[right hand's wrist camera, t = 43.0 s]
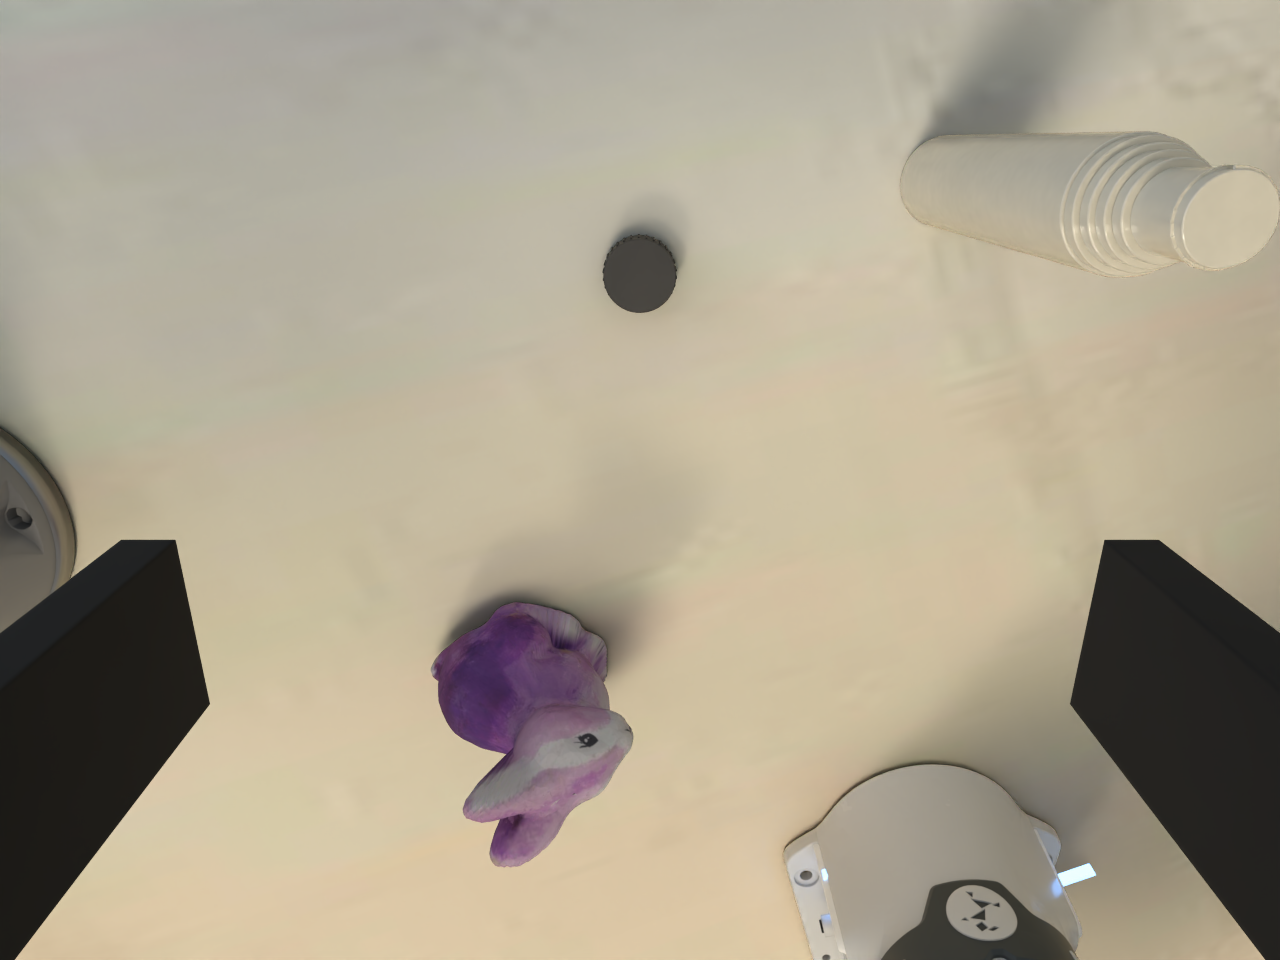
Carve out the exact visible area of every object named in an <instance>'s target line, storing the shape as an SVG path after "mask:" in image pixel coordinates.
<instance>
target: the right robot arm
mask: <svg viewBox="0 0 1280 960" xmlns="http://www.w3.org/2000/svg"><path fill="white" fill-rule="evenodd" d="M74 556H75V541H74V532H73V527H72V522H71V518H70V515H69V512H68V509H67V507H66V504H65V502H64V499H63V497H62V495H61V493H60V492H59V490H58V488H57V486H56V485H55V483H54V481H53V480H52V478H51V477H50V475H49V474H48V473H47V471H46V470H45V469H44V467H43V466H42V465H41V464H40V463H39V461H38V460H37V459H36V458H35V457H34V456H33V455H32V454H31V453H30V452H29V451H28V450H27V449H26V448H25V447H24V446H23V445H22V444H21V443H19V442H18V441H17V440H16V439H15V438H13V437H12V436H11V435H9V434H8V433H7V432H5V431H4V430H2V429H1V428H0V960H15V959H16V957H17V956H18V955H19V953H20V952H21V951H22V949H23V948H24V947H25V946H26V944H27V943H28V942H29V940H30V939H31V938H32V936H33V935H34V934H35V932H36V931H37V930H38V928H39V927H40V926H41V925H42V923H43V922H44V921H45V919H46V918H47V917H48V915H49V914H50V913H51V911H52V910H53V909H54V908H55V906H56V905H57V904H58V902H59V901H60V900H61V898H62V897H63V896H64V894H65V893H66V892H67V891H68V889H69V888H70V887H71V885H72V884H73V883H74V881H75V880H76V879H77V877H78V876H79V875H80V873H81V872H82V871H83V870H84V868H85V867H86V866H87V864H88V863H89V862H90V860H91V859H92V858H93V856H94V855H95V854H96V853H97V851H98V850H99V849H100V847H101V846H102V845H103V843H104V842H105V841H106V839H107V838H108V837H109V836H110V834H111V833H112V832H113V830H114V829H115V828H116V826H117V825H118V824H119V822H120V821H121V820H122V818H123V817H124V816H125V815H126V813H127V812H128V811H129V809H130V808H131V807H132V805H133V804H134V803H135V801H136V800H137V799H138V798H139V796H140V795H141V794H142V792H143V791H144V790H145V788H146V787H147V786H148V784H149V783H150V782H151V781H152V779H153V778H154V777H155V775H156V774H157V773H158V771H159V770H160V769H161V767H162V766H163V765H164V763H165V762H166V761H167V760H168V758H169V757H170V756H171V754H172V753H173V752H174V750H175V749H176V748H177V746H178V745H179V744H180V743H181V741H182V740H183V739H184V737H185V736H186V735H187V733H188V732H189V731H190V729H191V728H192V727H193V726H194V724H195V723H196V722H197V720H198V719H199V718H200V716H201V715H202V714H203V712H204V711H205V710H206V708H207V707H208V706H209V705H210V702H209V697H208V693H207V688H206V683H205V678H204V674H203V669H202V664H201V659H200V654H199V650H198V645H197V640H196V635H195V631H194V626H193V621H192V616H191V612H190V607H189V602H188V597H187V593H186V588H185V583H184V578H183V574H182V569H181V564H180V559H179V555H178V550H177V545H176V540H120V541H119V542H118V543H117V544H115V545H114V546H113V547H111V548H110V549H109V550H107V551H106V552H105V553H104V554H102V555H101V556H100V557H98V558H97V559H96V560H94V561H93V562H92V563H91V564H89V565H88V566H87V567H85V568H84V569H83V570H81V571H80V572H79V573H78V574H76V575H75V576H74V577H72V578H71V579H70V580H69V578H70V576H71V572H72V568H73V563H74ZM1070 705H1071V706H1072V707H1073V709H1074V710H1075V711H1076V712H1077V714H1078V715H1079V716H1080V718H1081V719H1082V720H1083V722H1084V723H1085V724H1086V726H1087V727H1088V728H1089V729H1090V731H1091V732H1092V733H1093V735H1094V736H1095V737H1096V739H1097V740H1098V741H1099V743H1100V744H1101V745H1102V746H1103V748H1104V749H1105V750H1106V752H1107V753H1108V754H1109V756H1110V757H1111V758H1112V760H1113V761H1114V762H1115V763H1116V765H1117V766H1118V767H1119V769H1120V770H1121V771H1122V773H1123V774H1124V775H1125V777H1126V778H1127V779H1128V781H1129V782H1130V783H1131V784H1132V786H1133V787H1134V788H1135V790H1136V791H1137V792H1138V794H1139V795H1140V796H1141V798H1142V799H1143V800H1144V801H1145V803H1146V804H1147V805H1148V807H1149V808H1150V809H1151V811H1152V812H1153V813H1154V815H1155V816H1156V817H1157V818H1158V820H1159V821H1160V822H1161V824H1162V825H1163V826H1164V828H1165V829H1166V830H1167V832H1168V833H1169V834H1170V836H1171V837H1172V838H1173V839H1174V841H1175V842H1176V843H1177V845H1178V846H1179V847H1180V849H1181V850H1182V851H1183V853H1184V854H1185V855H1186V856H1187V858H1188V859H1189V860H1190V862H1191V863H1192V864H1193V866H1194V867H1195V868H1196V870H1197V871H1198V872H1199V873H1200V875H1201V876H1202V877H1203V879H1204V880H1205V881H1206V883H1207V884H1208V885H1209V887H1210V888H1211V889H1212V891H1213V892H1214V893H1215V894H1216V896H1217V897H1218V898H1219V900H1220V901H1221V902H1222V904H1223V905H1224V906H1225V908H1226V909H1227V910H1228V911H1229V913H1230V914H1231V915H1232V917H1233V918H1234V919H1235V921H1236V922H1237V923H1238V925H1239V926H1240V927H1241V928H1242V930H1243V931H1244V932H1245V934H1246V935H1247V936H1248V938H1249V939H1250V940H1251V942H1252V943H1253V944H1254V946H1255V947H1256V948H1257V949H1258V951H1259V952H1260V953H1261V955H1262V956H1263V957H1264V959H1265V960H1280V633H1279V632H1278V631H1276V630H1275V629H1274V628H1273V627H1271V626H1270V625H1269V624H1267V623H1266V622H1265V621H1263V620H1262V619H1261V618H1260V617H1258V616H1257V615H1256V614H1254V613H1253V612H1252V611H1250V610H1249V609H1248V608H1247V607H1245V606H1244V605H1243V604H1241V603H1240V602H1239V601H1238V600H1236V599H1235V598H1234V597H1232V596H1231V595H1230V594H1228V593H1227V592H1226V591H1225V590H1223V589H1222V588H1221V587H1219V586H1218V585H1217V584H1215V583H1214V582H1213V581H1212V580H1210V579H1209V578H1208V577H1206V576H1205V575H1204V574H1202V573H1201V572H1200V571H1199V570H1197V569H1196V568H1195V567H1193V566H1192V565H1191V564H1189V563H1188V562H1187V561H1186V560H1184V559H1183V558H1182V557H1180V556H1179V555H1178V554H1176V553H1175V552H1174V551H1173V550H1171V549H1170V548H1169V547H1167V546H1166V545H1165V544H1163V543H1162V542H1161V541H1160V540H1104V545H1103V550H1102V555H1101V559H1100V564H1099V569H1098V574H1097V578H1096V583H1095V588H1094V593H1093V597H1092V602H1091V607H1090V612H1089V616H1088V621H1087V626H1086V631H1085V635H1084V640H1083V645H1082V650H1081V654H1080V659H1079V664H1078V669H1077V674H1076V678H1075V683H1074V688H1073V693H1072V697H1071V702H1070Z"/></svg>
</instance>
